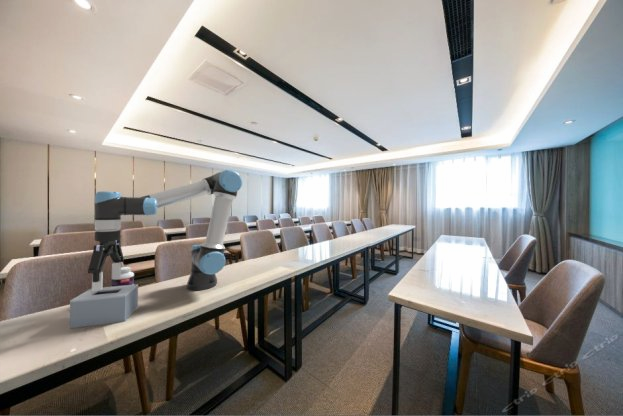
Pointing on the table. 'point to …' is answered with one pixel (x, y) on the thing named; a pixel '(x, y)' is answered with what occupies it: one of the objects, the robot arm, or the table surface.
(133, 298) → the box
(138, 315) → the table surface
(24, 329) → the table surface
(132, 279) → the pill bottle
